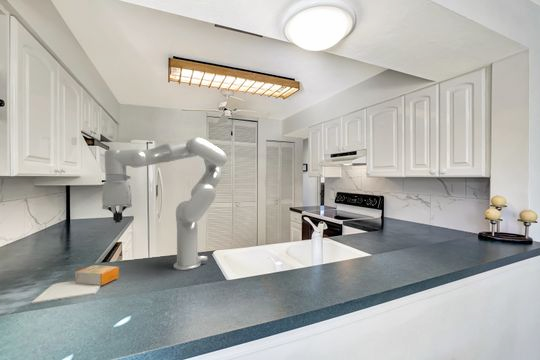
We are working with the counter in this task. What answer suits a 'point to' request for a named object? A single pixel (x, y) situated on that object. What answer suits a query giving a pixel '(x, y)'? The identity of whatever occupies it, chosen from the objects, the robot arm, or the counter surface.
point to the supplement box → (97, 274)
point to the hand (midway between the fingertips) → (118, 222)
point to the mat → (66, 291)
